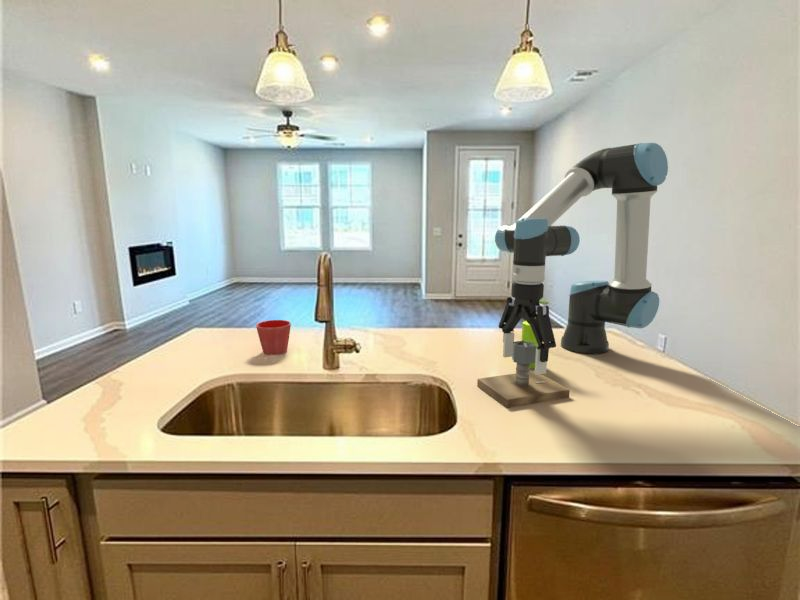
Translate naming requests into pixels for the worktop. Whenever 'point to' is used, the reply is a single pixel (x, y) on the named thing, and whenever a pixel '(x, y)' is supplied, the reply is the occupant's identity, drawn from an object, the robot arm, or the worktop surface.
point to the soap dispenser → (530, 334)
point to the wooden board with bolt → (522, 387)
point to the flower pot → (274, 336)
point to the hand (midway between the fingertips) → (523, 364)
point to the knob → (524, 352)
